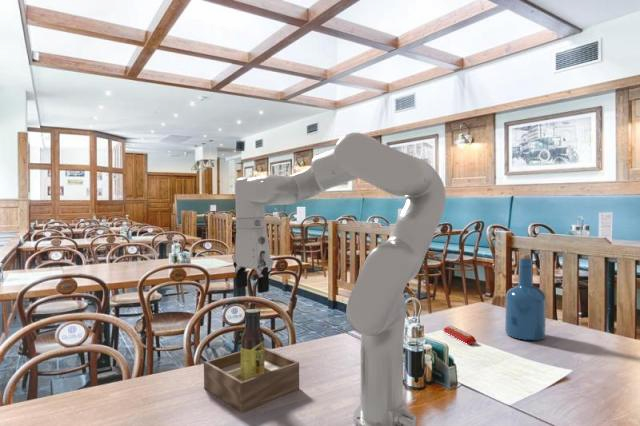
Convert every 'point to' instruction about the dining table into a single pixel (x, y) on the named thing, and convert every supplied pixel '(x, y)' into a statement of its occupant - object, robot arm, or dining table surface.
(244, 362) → the sauce bottle
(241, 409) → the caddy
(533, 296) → the wine bottle
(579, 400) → the dining table surface
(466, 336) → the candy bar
